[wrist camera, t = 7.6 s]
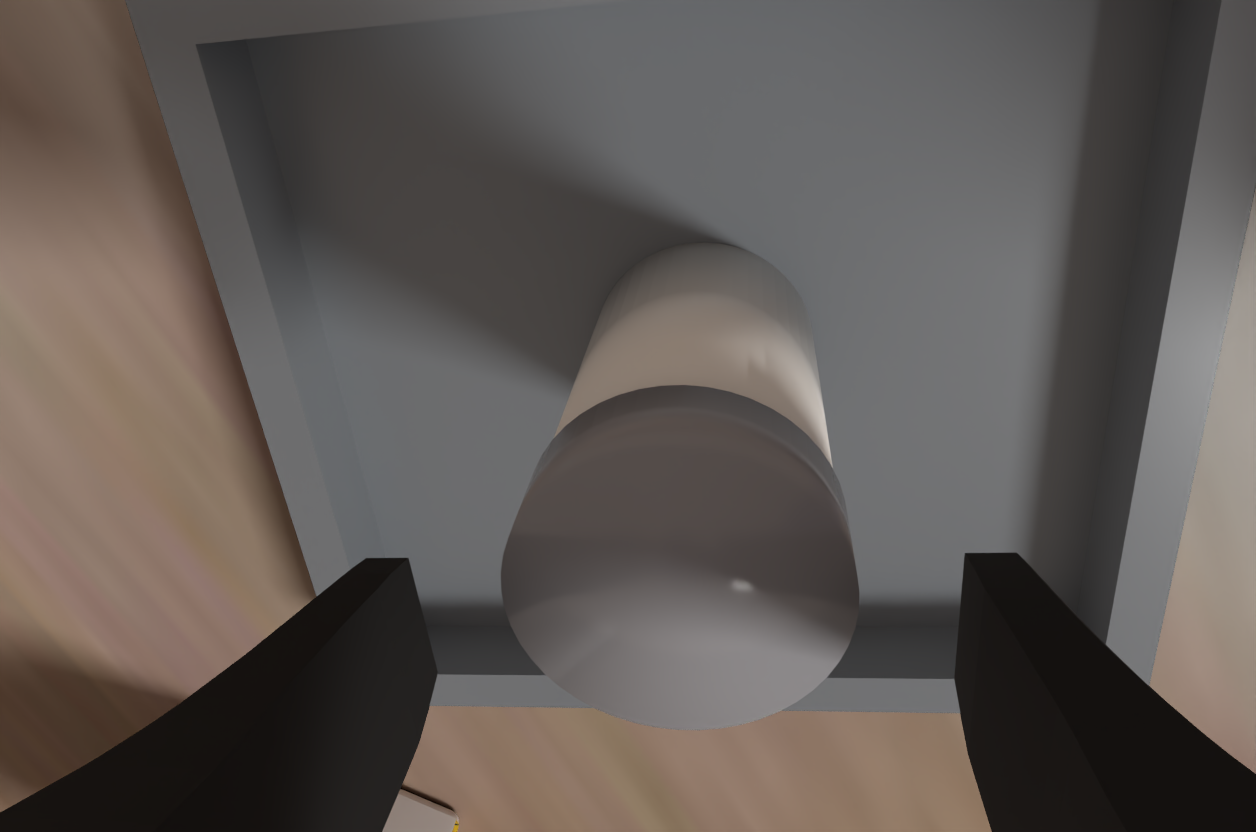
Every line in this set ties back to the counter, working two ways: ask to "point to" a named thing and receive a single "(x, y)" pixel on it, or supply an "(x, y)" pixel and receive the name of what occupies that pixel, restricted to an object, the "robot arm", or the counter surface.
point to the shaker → (688, 505)
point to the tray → (750, 220)
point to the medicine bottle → (419, 815)
